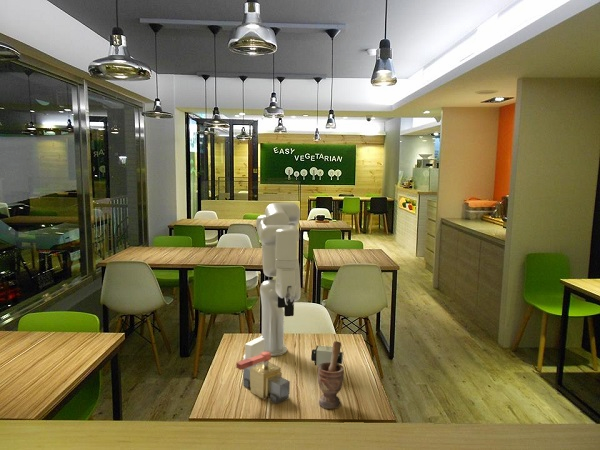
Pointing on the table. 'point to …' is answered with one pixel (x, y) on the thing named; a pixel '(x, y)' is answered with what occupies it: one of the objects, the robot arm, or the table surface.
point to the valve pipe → (266, 382)
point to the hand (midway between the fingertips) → (285, 311)
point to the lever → (253, 360)
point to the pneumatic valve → (324, 355)
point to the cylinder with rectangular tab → (254, 348)
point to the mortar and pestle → (331, 379)
